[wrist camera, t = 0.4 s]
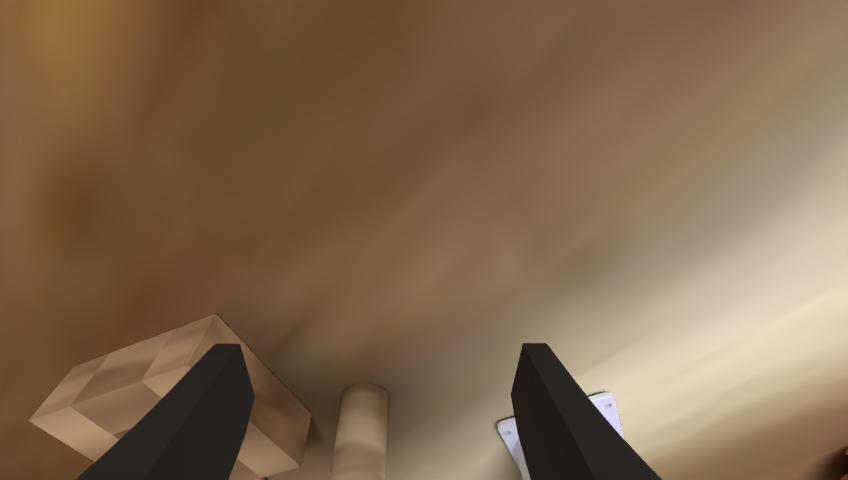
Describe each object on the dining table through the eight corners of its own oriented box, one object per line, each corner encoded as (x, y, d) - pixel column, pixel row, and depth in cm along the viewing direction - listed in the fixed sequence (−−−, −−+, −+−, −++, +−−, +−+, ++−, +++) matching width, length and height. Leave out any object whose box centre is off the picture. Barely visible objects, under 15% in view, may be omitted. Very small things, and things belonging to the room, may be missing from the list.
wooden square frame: (311, 414, 28) (300, 466, 25) (189, 451, 29) (165, 505, 26) (215, 313, 22) (187, 364, 20) (74, 366, 24) (28, 420, 21)
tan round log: (396, 404, 27) (393, 544, 21) (355, 416, 28) (340, 556, 21) (376, 377, 26) (366, 518, 19) (333, 390, 26) (309, 532, 20)
